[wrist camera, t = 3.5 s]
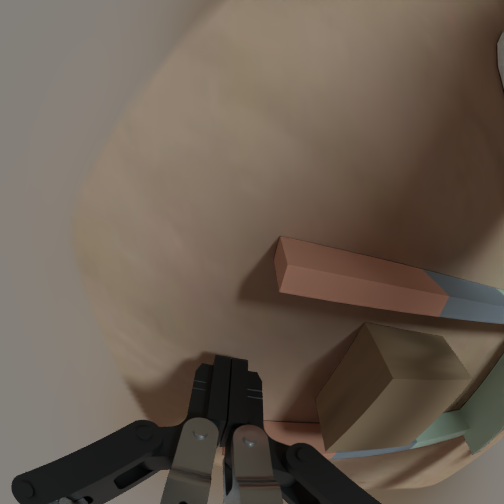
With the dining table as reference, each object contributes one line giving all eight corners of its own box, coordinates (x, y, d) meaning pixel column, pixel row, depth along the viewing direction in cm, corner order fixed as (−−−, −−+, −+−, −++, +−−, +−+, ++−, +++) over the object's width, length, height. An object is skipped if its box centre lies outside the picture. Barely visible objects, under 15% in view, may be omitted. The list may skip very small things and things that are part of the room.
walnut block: (440, 334, 14) (472, 379, 10) (390, 400, 16) (408, 445, 12) (363, 320, 13) (393, 378, 9) (314, 396, 15) (325, 451, 12)
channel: (538, 300, 13) (573, 334, 8) (459, 414, 18) (478, 452, 13) (280, 236, 11) (299, 311, 6) (224, 423, 16) (219, 489, 11)
